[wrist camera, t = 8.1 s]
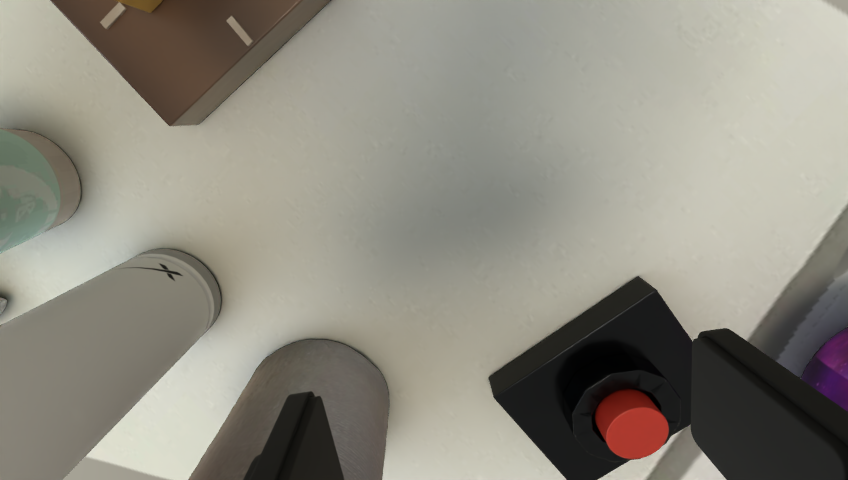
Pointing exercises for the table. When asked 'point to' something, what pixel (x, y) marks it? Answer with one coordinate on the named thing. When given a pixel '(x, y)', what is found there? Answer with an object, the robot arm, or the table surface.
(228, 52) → the valve panel
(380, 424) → the pillar candle
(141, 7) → the box with red tab
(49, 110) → the table surface
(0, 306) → the figurine
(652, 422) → the button
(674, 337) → the button box
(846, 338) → the decorative orb
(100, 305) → the travel mug
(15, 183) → the coffee cup
